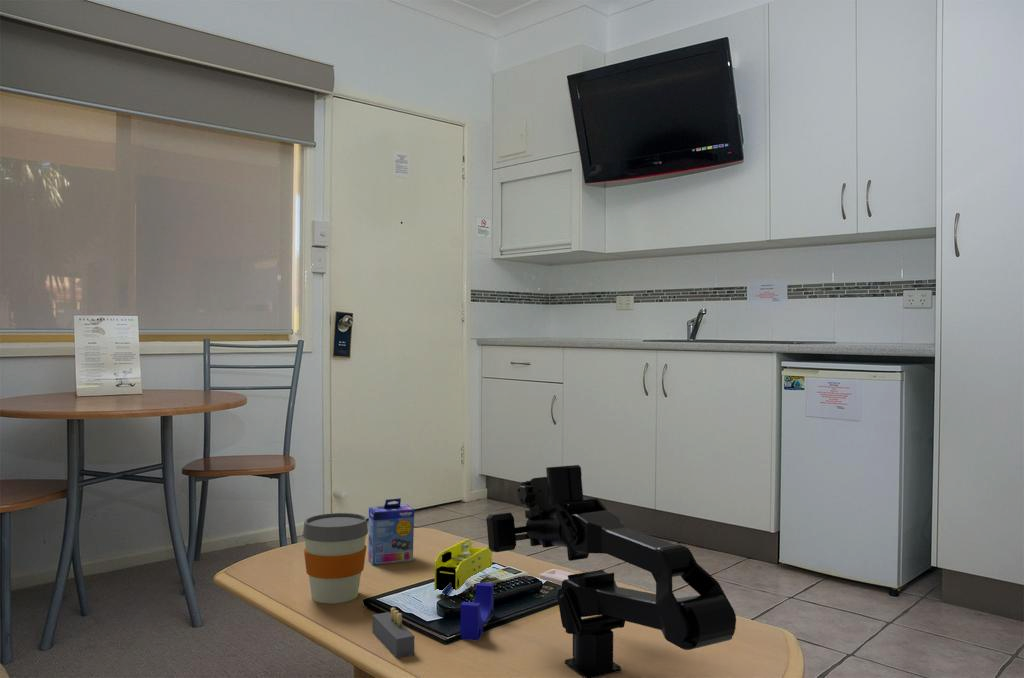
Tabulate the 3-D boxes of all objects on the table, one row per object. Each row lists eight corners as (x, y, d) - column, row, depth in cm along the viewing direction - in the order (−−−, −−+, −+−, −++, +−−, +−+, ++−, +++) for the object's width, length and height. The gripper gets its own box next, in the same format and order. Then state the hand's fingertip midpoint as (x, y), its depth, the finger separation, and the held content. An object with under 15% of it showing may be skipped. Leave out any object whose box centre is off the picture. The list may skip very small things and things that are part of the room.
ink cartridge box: (372, 566, 166) (373, 501, 166) (366, 559, 171) (367, 496, 171) (414, 561, 170) (415, 498, 171) (407, 555, 175) (408, 493, 176)
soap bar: (573, 594, 150) (574, 582, 150) (538, 584, 155) (538, 572, 155) (588, 588, 154) (589, 576, 154) (553, 578, 160) (553, 567, 160)
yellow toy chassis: (469, 574, 161) (469, 536, 161) (493, 578, 159) (493, 539, 159) (432, 597, 147) (432, 554, 147) (457, 601, 144) (458, 558, 144)
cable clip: (469, 614, 137) (469, 582, 137) (493, 616, 136) (493, 583, 137) (451, 639, 126) (452, 603, 126) (477, 641, 125) (477, 606, 125)
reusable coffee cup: (319, 611, 138) (319, 530, 138) (291, 593, 147) (292, 518, 147) (378, 597, 146) (379, 521, 146) (349, 581, 155) (349, 509, 155)
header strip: (415, 654, 119) (415, 623, 119) (396, 658, 117) (396, 626, 117) (389, 629, 129) (389, 600, 129) (372, 632, 128) (372, 603, 128)
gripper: (600, 474, 129) (554, 476, 143) (505, 484, 120) (466, 486, 134) (607, 540, 127) (559, 535, 141) (511, 555, 118) (471, 549, 132)
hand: (515, 525), depth 137 cm, fingers open, 9 cm apart
